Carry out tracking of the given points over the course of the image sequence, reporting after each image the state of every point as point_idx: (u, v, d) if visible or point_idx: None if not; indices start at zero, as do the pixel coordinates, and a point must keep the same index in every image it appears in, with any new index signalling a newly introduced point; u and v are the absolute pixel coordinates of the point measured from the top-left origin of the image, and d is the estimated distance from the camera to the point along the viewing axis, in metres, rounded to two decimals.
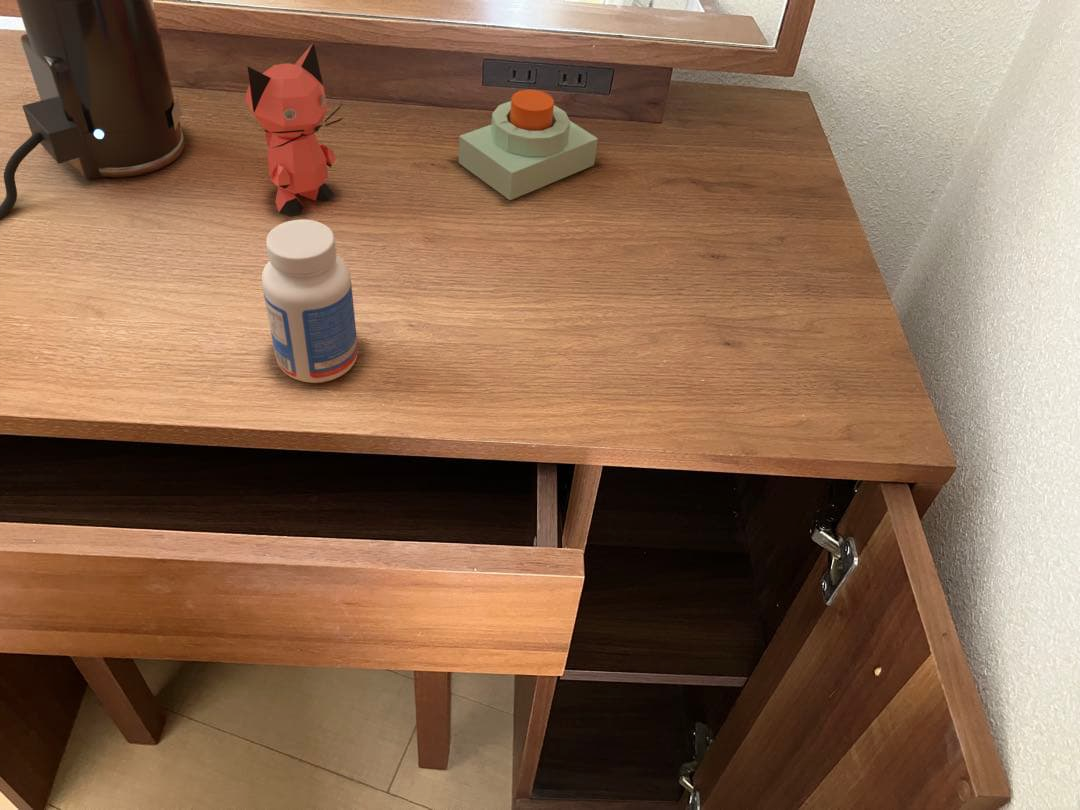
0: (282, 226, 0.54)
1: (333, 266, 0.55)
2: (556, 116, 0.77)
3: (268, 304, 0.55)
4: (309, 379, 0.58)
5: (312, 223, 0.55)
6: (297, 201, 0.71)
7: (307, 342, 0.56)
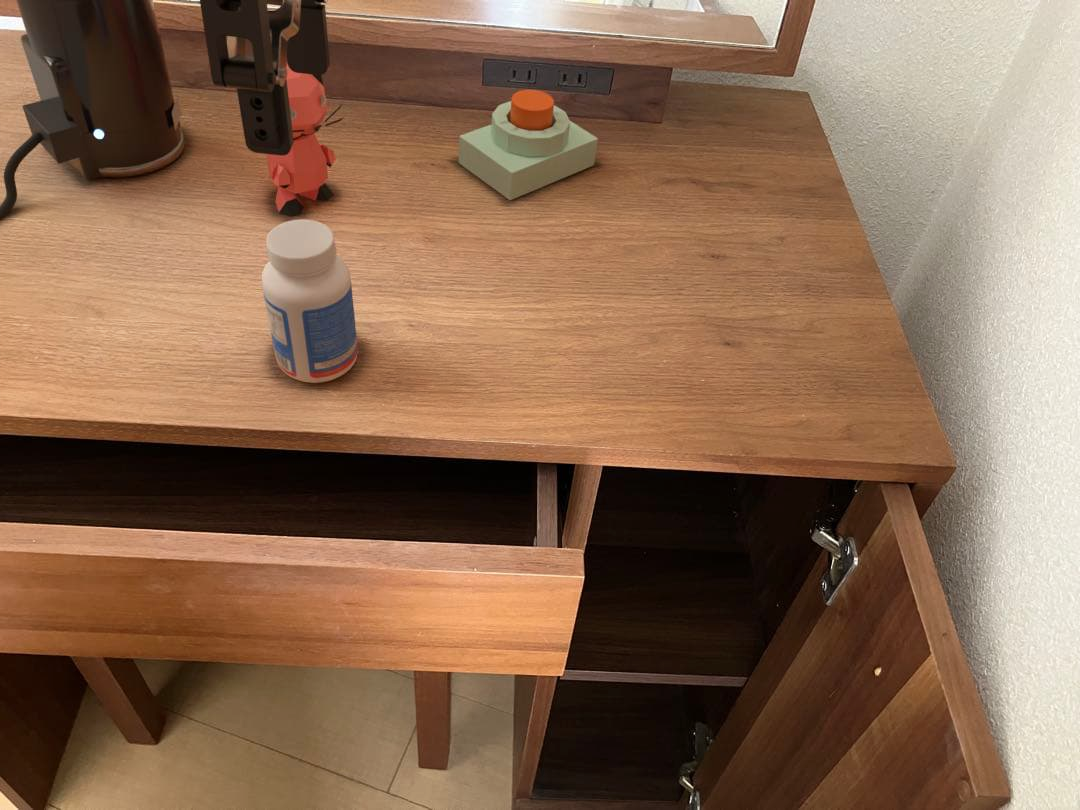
0: (282, 226, 0.54)
1: (333, 266, 0.55)
2: (556, 116, 0.77)
3: (268, 304, 0.55)
4: (309, 379, 0.58)
5: (312, 223, 0.55)
6: (297, 201, 0.71)
7: (307, 342, 0.56)
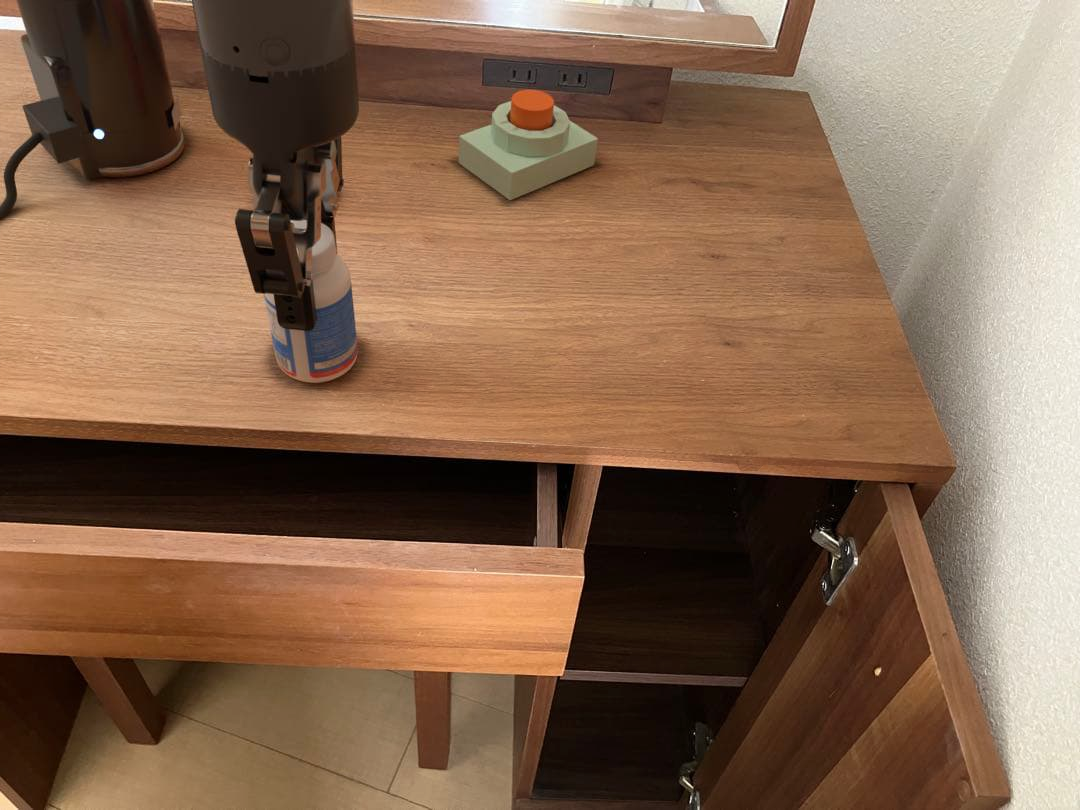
0: None
1: (333, 266, 0.55)
2: (556, 116, 0.77)
3: (268, 304, 0.55)
4: (309, 379, 0.58)
5: None
6: None
7: (307, 342, 0.56)
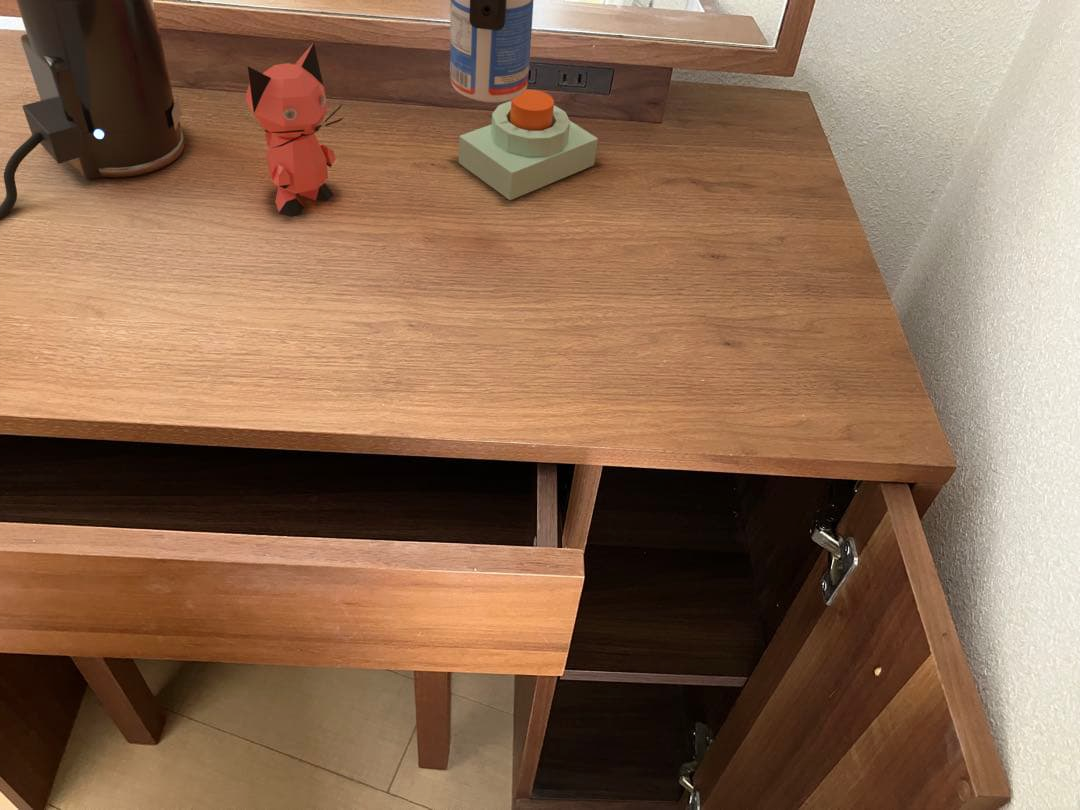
0: None
1: None
2: (556, 116, 0.77)
3: (457, 8, 0.57)
4: (486, 97, 0.60)
5: None
6: (297, 201, 0.71)
7: (492, 49, 0.58)
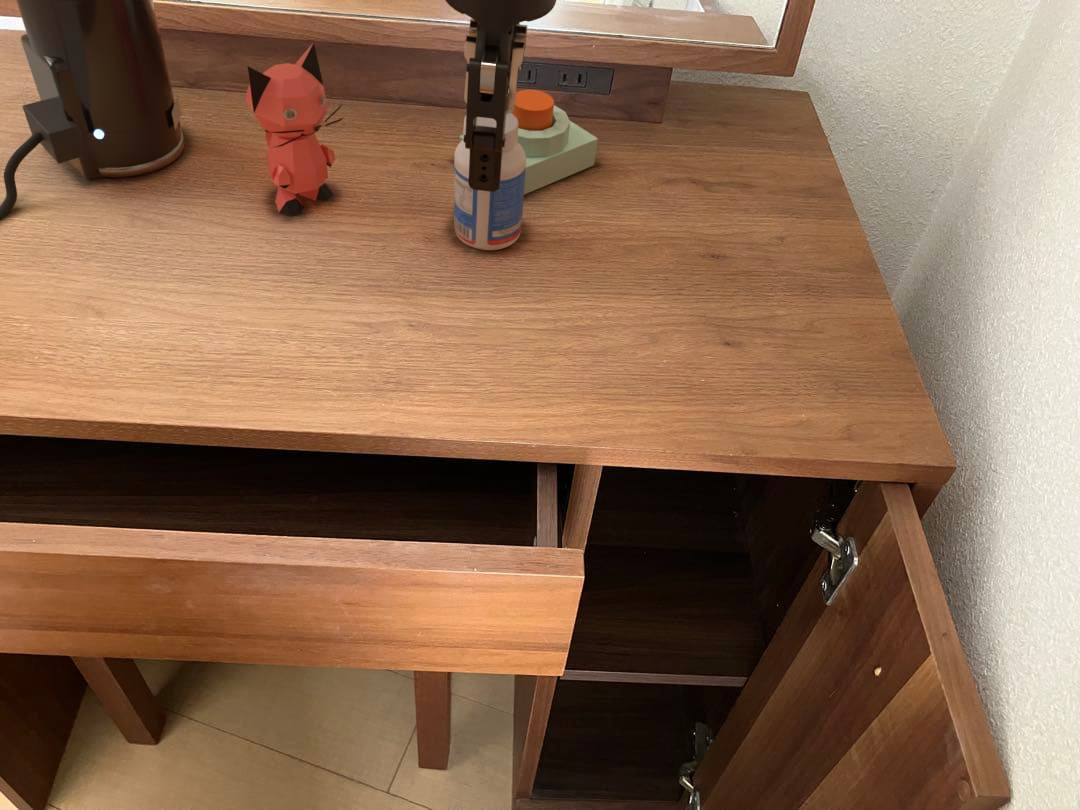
0: None
1: (514, 146, 0.66)
2: (556, 116, 0.77)
3: (460, 178, 0.67)
4: (485, 247, 0.70)
5: None
6: (297, 201, 0.71)
7: (490, 211, 0.68)
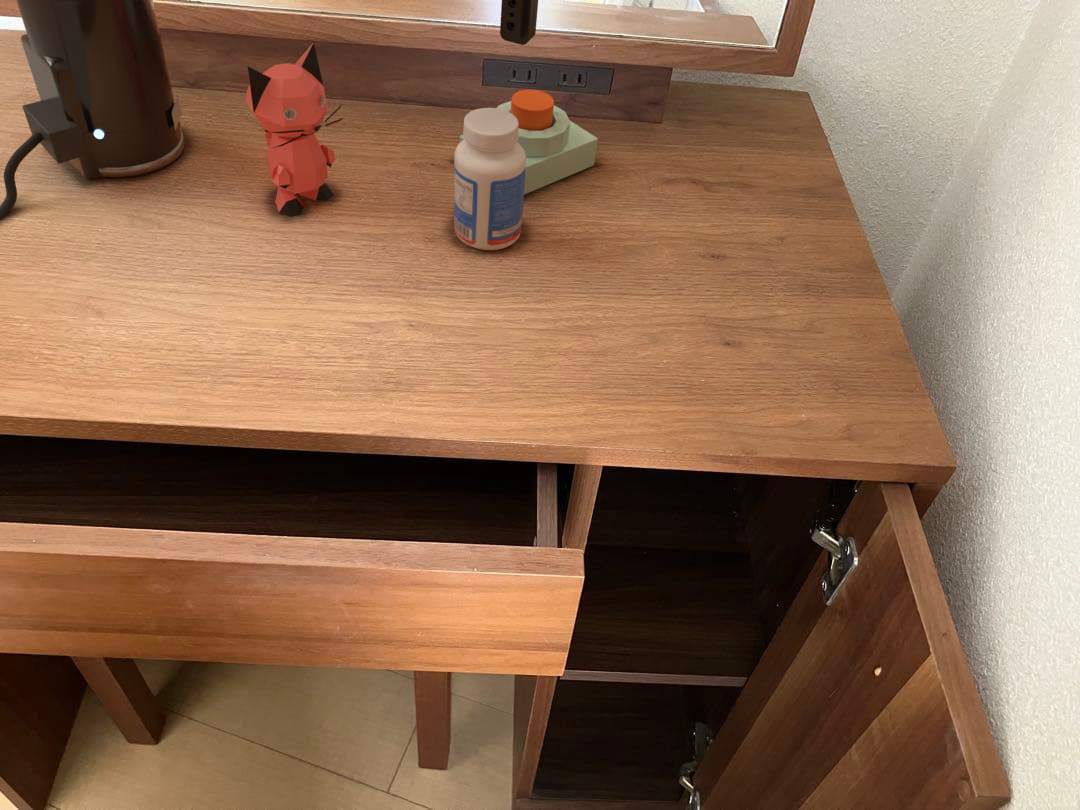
0: (474, 112, 0.66)
1: (514, 146, 0.66)
2: (556, 116, 0.77)
3: (460, 178, 0.67)
4: (485, 247, 0.70)
5: (498, 110, 0.66)
6: (297, 201, 0.71)
7: (490, 211, 0.68)
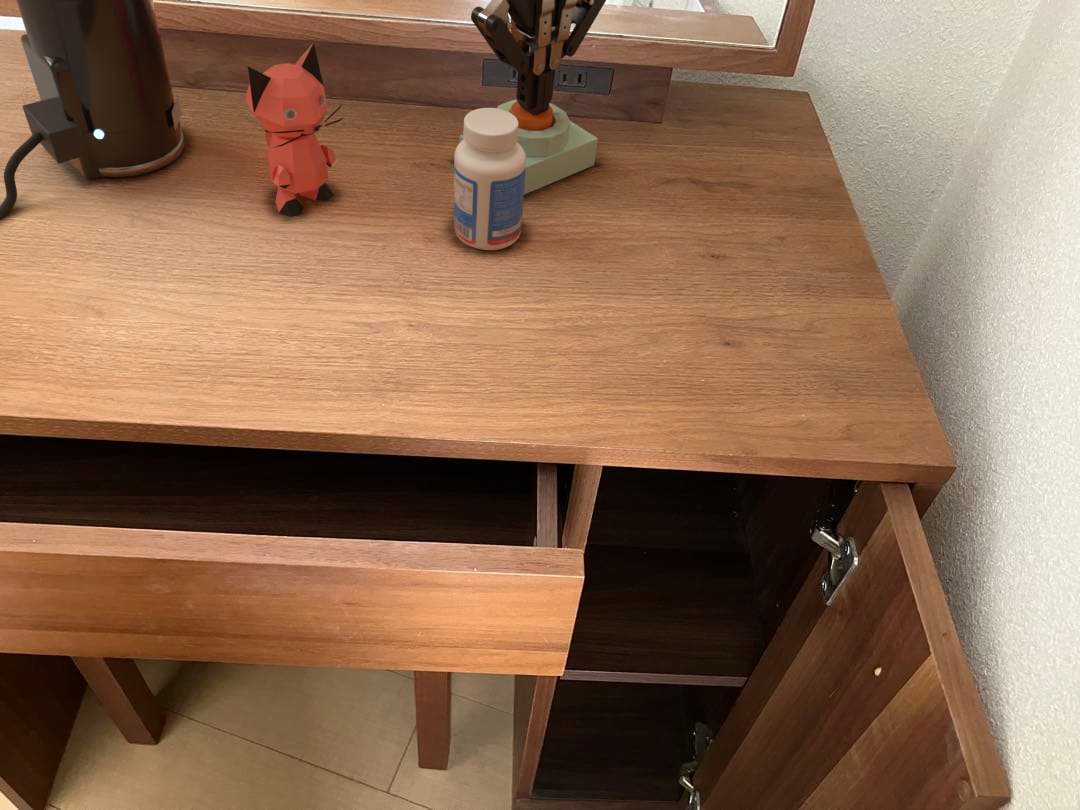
0: (474, 112, 0.66)
1: (514, 146, 0.66)
2: (556, 116, 0.77)
3: (460, 178, 0.67)
4: (485, 247, 0.70)
5: (498, 110, 0.66)
6: (297, 201, 0.71)
7: (490, 211, 0.68)
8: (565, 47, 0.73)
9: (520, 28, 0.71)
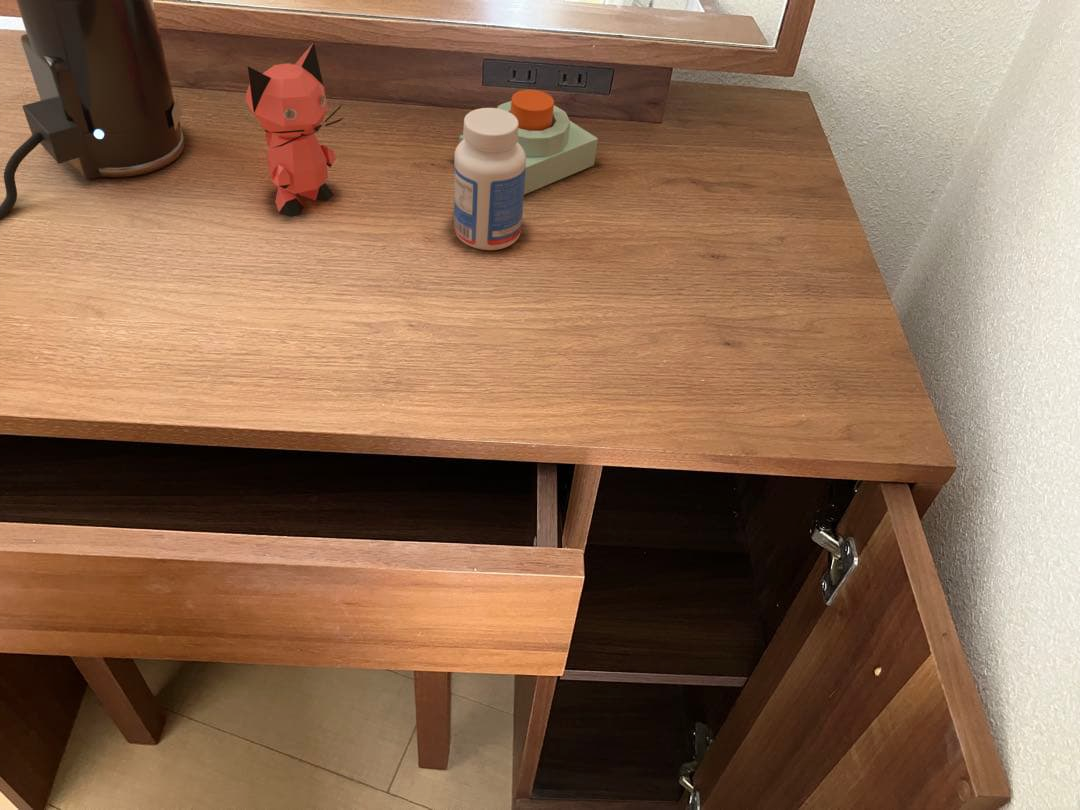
0: (474, 112, 0.66)
1: (514, 146, 0.66)
2: (556, 116, 0.77)
3: (460, 178, 0.67)
4: (485, 247, 0.70)
5: (498, 110, 0.66)
6: (297, 201, 0.71)
7: (490, 211, 0.68)
8: None
9: None
